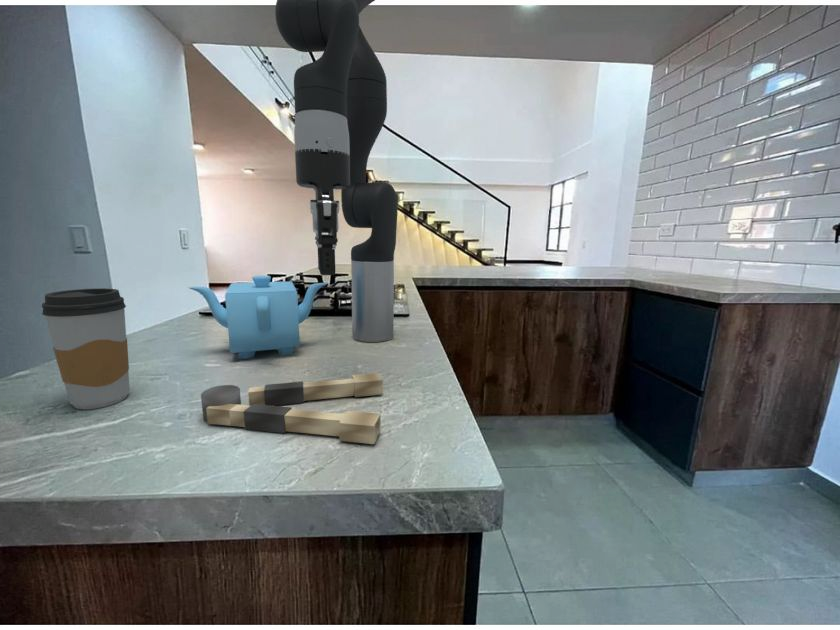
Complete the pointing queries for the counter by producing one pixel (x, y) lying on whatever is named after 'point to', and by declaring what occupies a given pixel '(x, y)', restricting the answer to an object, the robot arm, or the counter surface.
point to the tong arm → (316, 390)
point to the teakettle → (261, 315)
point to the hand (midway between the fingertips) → (326, 272)
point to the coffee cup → (90, 345)
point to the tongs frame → (286, 417)
